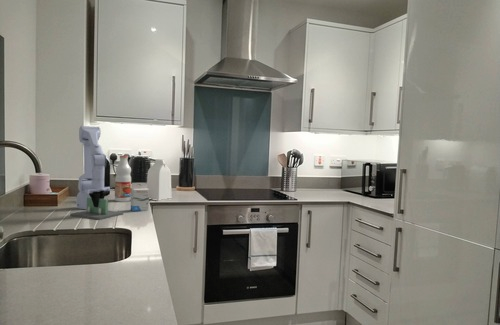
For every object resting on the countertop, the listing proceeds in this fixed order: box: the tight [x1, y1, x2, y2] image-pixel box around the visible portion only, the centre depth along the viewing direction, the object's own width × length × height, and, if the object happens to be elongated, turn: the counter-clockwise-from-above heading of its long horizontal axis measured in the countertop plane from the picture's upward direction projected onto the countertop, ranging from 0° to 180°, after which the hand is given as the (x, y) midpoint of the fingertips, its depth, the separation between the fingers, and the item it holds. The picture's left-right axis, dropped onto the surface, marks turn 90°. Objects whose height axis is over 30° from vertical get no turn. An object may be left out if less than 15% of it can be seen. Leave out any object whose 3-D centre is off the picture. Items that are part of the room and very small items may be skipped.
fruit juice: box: [114, 155, 132, 203], centre depth 227 cm, size 9×9×28 cm
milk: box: [146, 158, 173, 200], centre depth 240 cm, size 12×12×26 cm
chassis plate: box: [69, 207, 124, 221], centre depth 181 cm, size 18×16×4 cm
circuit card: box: [86, 197, 109, 214], centre depth 181 cm, size 12×2×7 cm, turn 68°
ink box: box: [130, 182, 150, 212], centre depth 198 cm, size 8×5×15 cm, turn 124°
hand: (97, 206), depth 181 cm, fingers closed on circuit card, 1 cm apart
